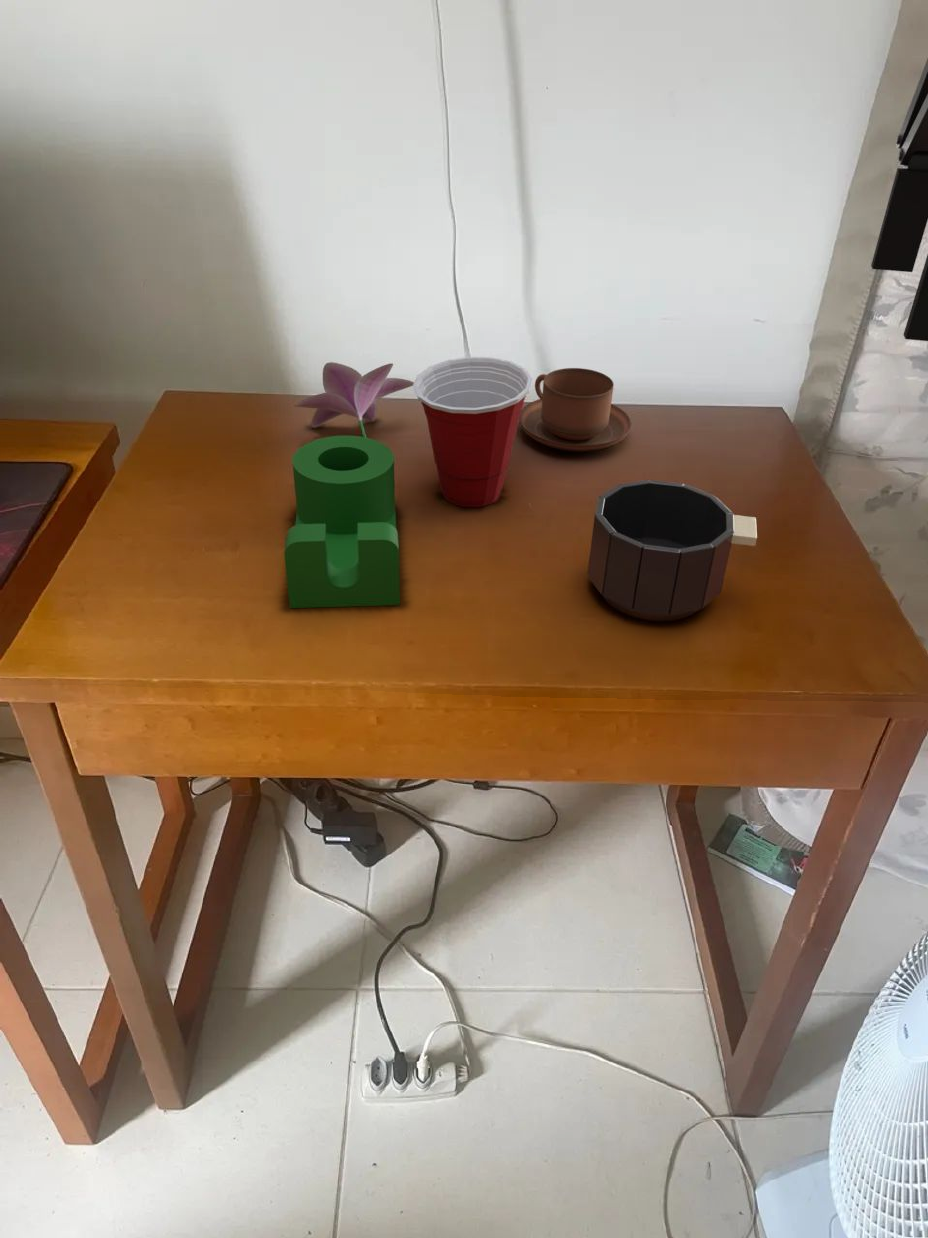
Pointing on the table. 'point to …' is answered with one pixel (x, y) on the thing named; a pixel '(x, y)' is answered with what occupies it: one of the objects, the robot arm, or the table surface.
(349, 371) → the lily
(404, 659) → the table surface
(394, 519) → the green bracket
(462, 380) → the plastic cup
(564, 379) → the cup and saucer
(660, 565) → the cooking pot
